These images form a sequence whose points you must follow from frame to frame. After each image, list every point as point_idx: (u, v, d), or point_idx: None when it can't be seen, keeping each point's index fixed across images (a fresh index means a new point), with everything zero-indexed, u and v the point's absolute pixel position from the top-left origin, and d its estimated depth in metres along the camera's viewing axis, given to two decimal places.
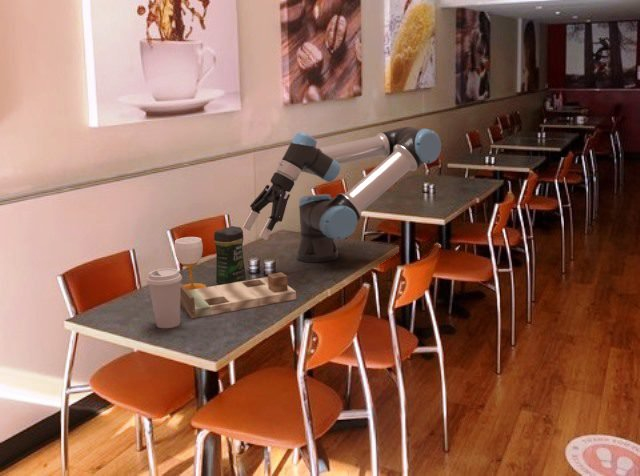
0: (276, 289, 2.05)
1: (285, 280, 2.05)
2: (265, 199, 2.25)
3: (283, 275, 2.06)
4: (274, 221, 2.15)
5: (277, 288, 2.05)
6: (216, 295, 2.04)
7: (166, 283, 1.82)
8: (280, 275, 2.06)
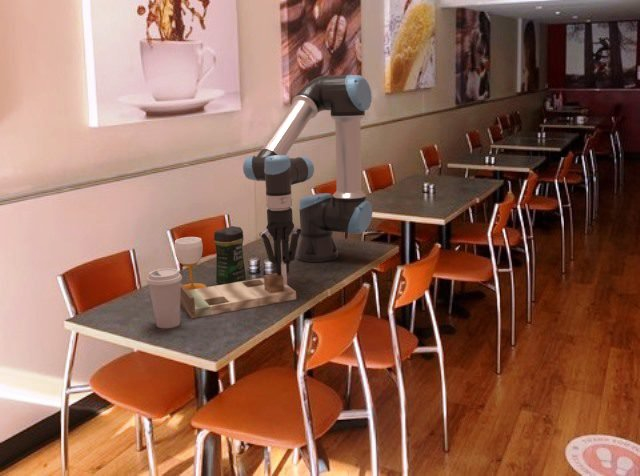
0: (273, 290, 2.04)
1: (281, 281, 2.05)
2: None
3: (279, 276, 2.05)
4: None
5: (273, 289, 2.04)
6: (216, 295, 2.04)
7: (166, 283, 1.82)
8: (276, 276, 2.05)
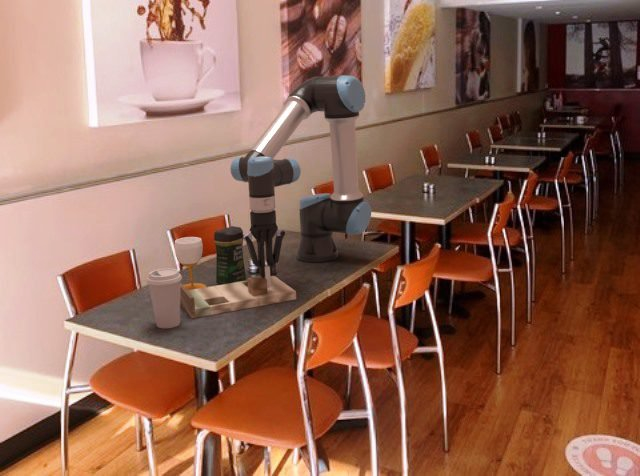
0: (256, 293, 2.02)
1: (265, 283, 2.03)
2: None
3: (263, 278, 2.03)
4: None
5: (256, 292, 2.02)
6: (216, 295, 2.04)
7: (166, 283, 1.82)
8: (260, 278, 2.03)
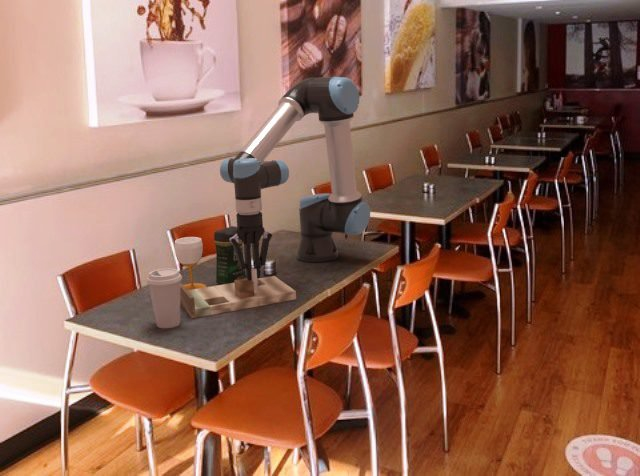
0: (243, 295, 2.00)
1: (252, 286, 2.01)
2: None
3: (250, 281, 2.02)
4: None
5: (243, 294, 2.00)
6: (216, 295, 2.04)
7: (166, 283, 1.82)
8: (247, 281, 2.02)
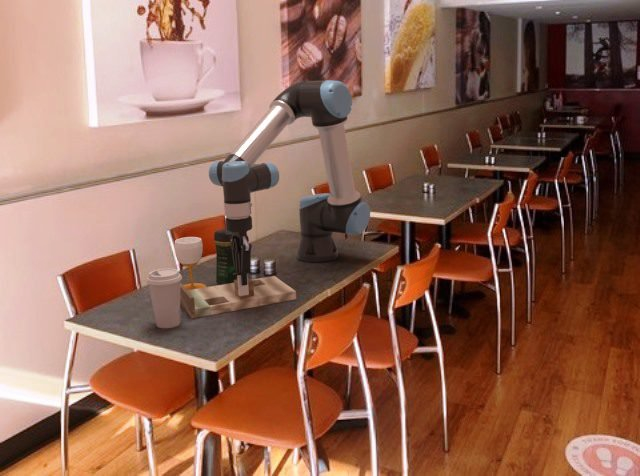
0: None
1: (251, 286, 2.01)
2: None
3: (249, 280, 2.02)
4: None
5: None
6: (216, 295, 2.04)
7: (166, 283, 1.82)
8: None
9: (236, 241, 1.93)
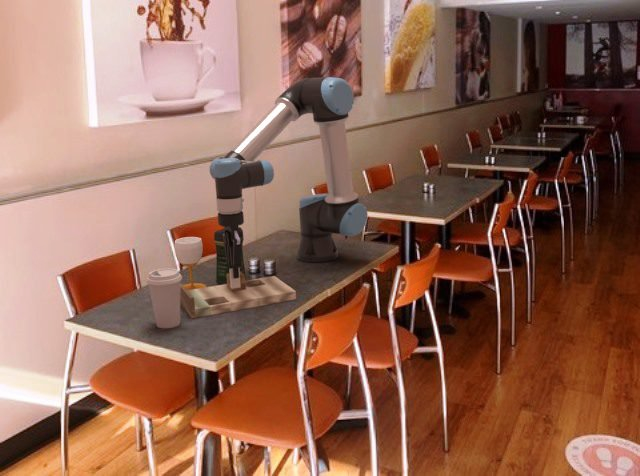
0: (234, 288, 2.07)
1: (243, 279, 2.08)
2: None
3: (241, 274, 2.08)
4: None
5: None
6: (216, 295, 2.04)
7: (166, 283, 1.82)
8: None
9: (228, 235, 2.00)
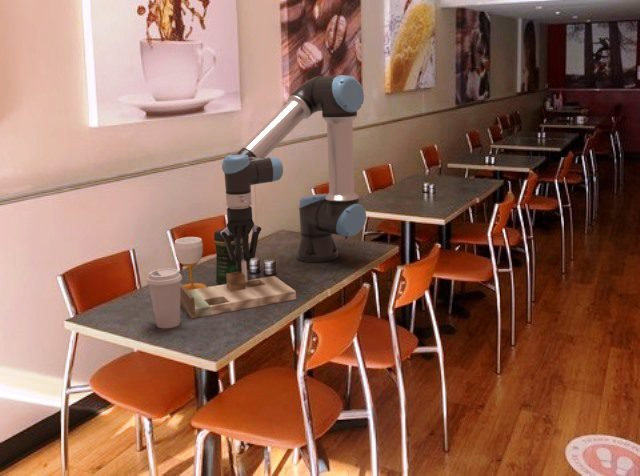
0: (234, 288, 2.07)
1: (243, 279, 2.08)
2: None
3: (241, 274, 2.08)
4: None
5: (234, 287, 2.07)
6: (216, 295, 2.04)
7: (166, 283, 1.82)
8: (238, 274, 2.08)
9: None
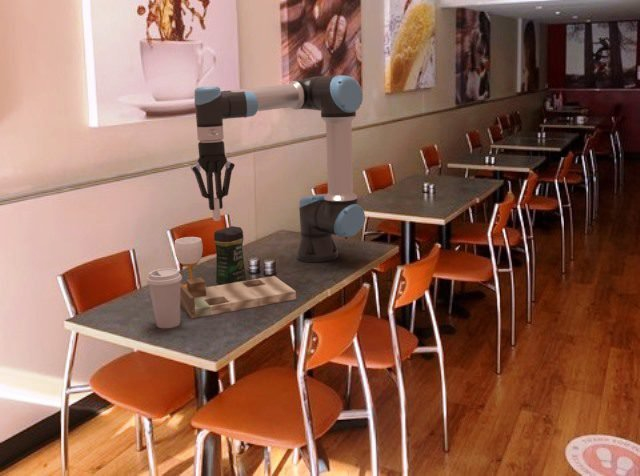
0: (194, 295, 2.02)
1: (203, 286, 2.03)
2: None
3: (201, 280, 2.03)
4: None
5: (194, 294, 2.02)
6: (216, 295, 2.04)
7: (166, 283, 1.82)
8: (198, 280, 2.04)
9: None
